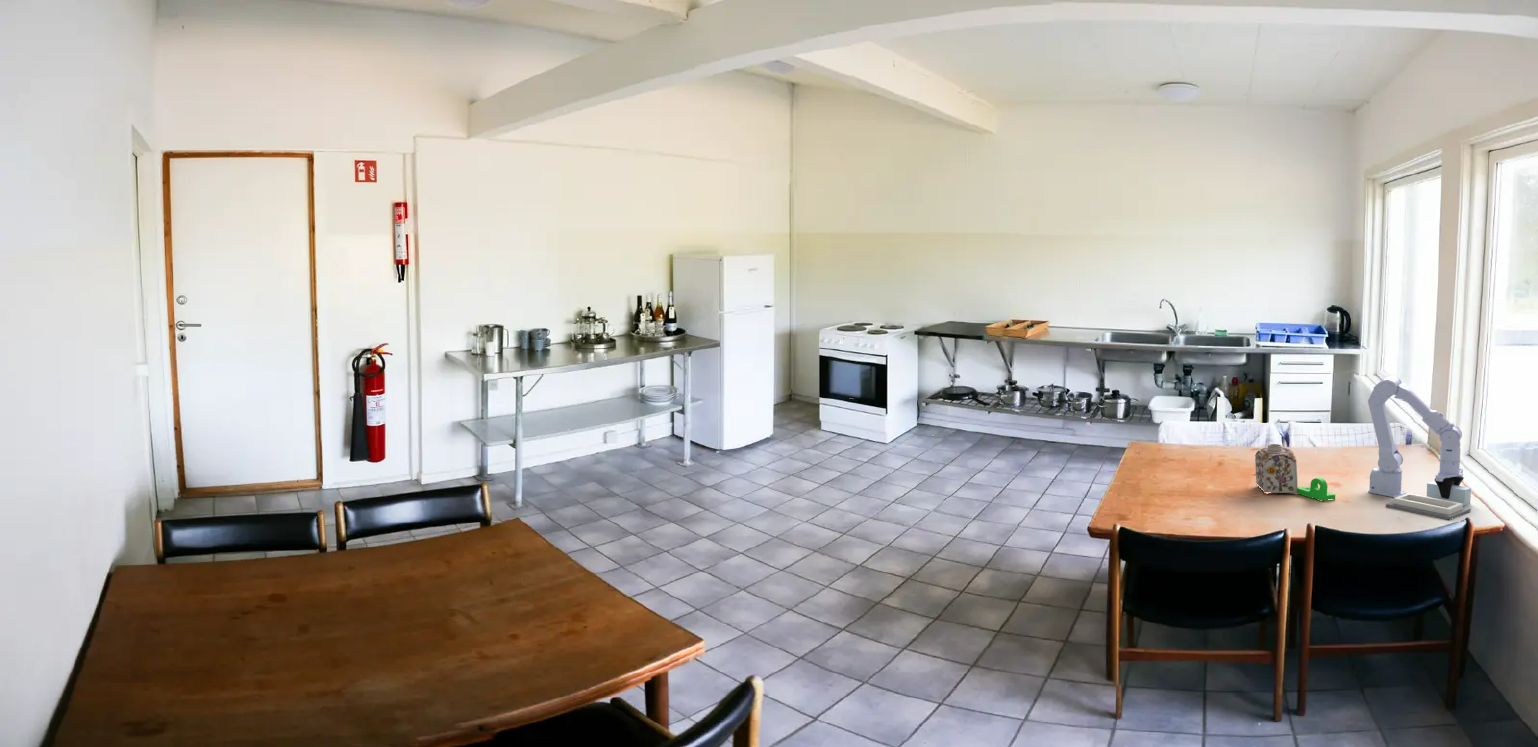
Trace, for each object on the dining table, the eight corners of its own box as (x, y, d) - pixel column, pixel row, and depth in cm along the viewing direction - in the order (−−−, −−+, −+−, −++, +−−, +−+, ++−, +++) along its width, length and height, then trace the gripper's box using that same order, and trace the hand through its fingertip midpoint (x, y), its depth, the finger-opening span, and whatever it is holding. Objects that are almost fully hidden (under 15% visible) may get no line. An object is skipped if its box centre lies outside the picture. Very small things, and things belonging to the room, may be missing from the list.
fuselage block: (1426, 498, 325) (1427, 483, 324) (1432, 496, 327) (1433, 481, 326) (1464, 506, 315) (1465, 490, 314) (1470, 504, 317) (1470, 487, 316)
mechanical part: (1335, 499, 331) (1336, 479, 330) (1322, 501, 330) (1323, 480, 328) (1308, 491, 343) (1309, 471, 341) (1295, 492, 341) (1296, 472, 340)
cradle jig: (1386, 506, 320) (1386, 498, 319) (1407, 498, 326) (1407, 491, 326) (1449, 520, 302) (1450, 511, 302) (1470, 511, 309) (1470, 503, 308)
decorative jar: (1255, 486, 353) (1254, 442, 351) (1288, 485, 351) (1286, 440, 348) (1264, 495, 342) (1263, 449, 340) (1298, 493, 339) (1296, 448, 337)
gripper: (1452, 466, 312) (1450, 503, 314) (1473, 458, 319) (1471, 495, 321) (1429, 462, 318) (1428, 498, 320) (1450, 455, 325) (1448, 491, 327)
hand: (1448, 496), depth 321 cm, fingers closed on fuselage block, 4 cm apart
